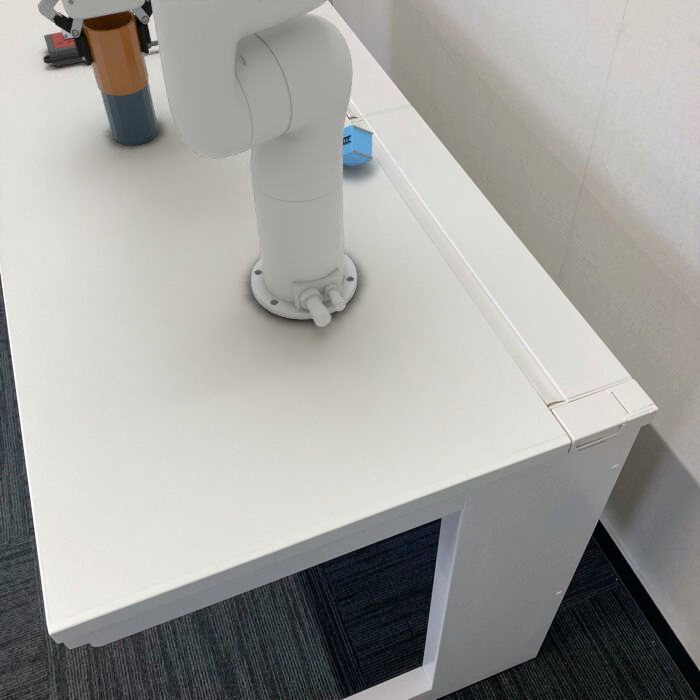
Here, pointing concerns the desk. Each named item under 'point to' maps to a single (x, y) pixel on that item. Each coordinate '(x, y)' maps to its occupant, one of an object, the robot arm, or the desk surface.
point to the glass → (116, 53)
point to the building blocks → (356, 145)
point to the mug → (131, 117)
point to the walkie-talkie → (66, 49)
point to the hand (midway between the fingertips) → (116, 53)
